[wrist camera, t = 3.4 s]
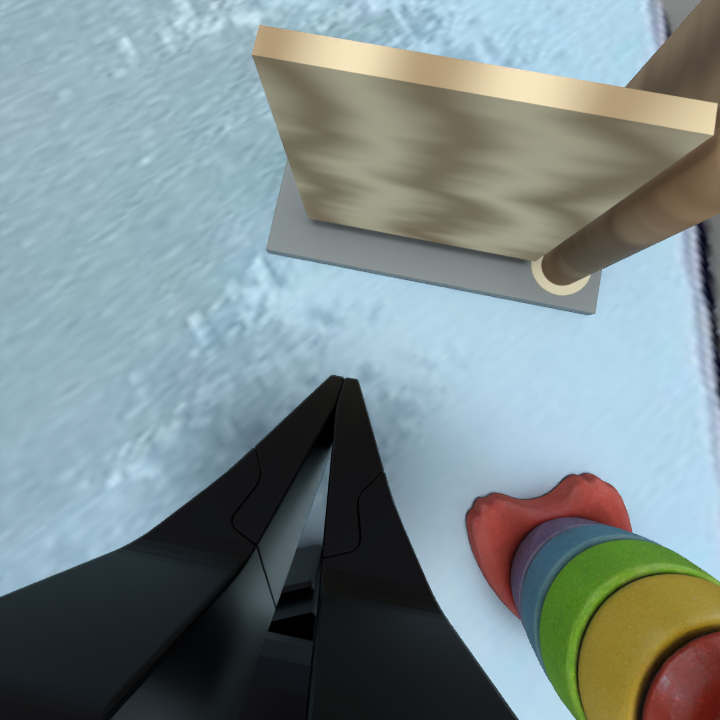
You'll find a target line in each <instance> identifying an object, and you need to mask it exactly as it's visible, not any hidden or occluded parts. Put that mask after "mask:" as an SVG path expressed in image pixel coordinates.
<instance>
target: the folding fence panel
mask: <svg viewBox="0 0 720 720" xmlns="http://www.w3.org/2000/svg"><path fill="white" fill-rule="evenodd" d="M252 56H253V59H254V62H255V65H256V68H257V71H258V74H259V77H260V79H261V82H262V85H263V88H264V91H265V94H266V97H267V100H268V103H269V106H270V109H271V111H272V114H273V117H274V120H275V123H276V126H277V129H278V132H279V135H280V138H281V141H282V143H283V146H284V149H285V152H286V155H287V158H288V161H289V164H290V167H291V170H292V173H293V175H294V178H295V181H296V184H297V187H298V190H299V193H300V196H301V199H302V202H303V205H304V207H305V210H306V213H307V216H308V218H310V219H315V220H320V221H326V222H331V223H336V224H341V225H347V226H352V227H357V228H362V229H368V230H373V231H378V232H383V233H389V234H394V235H399V236H404V237H410V238H415V239H420V240H425V241H431V242H436V243H441V244H446V245H452V246H457V247H462V248H468V249H473V250H478V251H483V252H489V253H494V254H499V255H504V256H510V257H515V258H520V259H525V260H531V261H537V260H538V259H539V258H541V257H542V256H544V255H545V254H546V253H548V252H549V251H551V250H552V249H554V248H555V247H556V246H558V245H559V244H561V243H562V242H563V241H565V240H566V239H568V238H569V237H570V236H572V235H573V234H575V233H576V232H578V231H579V230H580V229H582V228H583V227H585V226H586V225H587V224H589V223H590V222H592V221H593V220H595V219H596V218H597V217H599V216H600V215H602V214H603V213H604V212H606V211H607V210H609V209H610V208H611V207H613V206H614V205H616V204H617V203H619V202H620V201H621V200H623V199H624V198H626V197H627V196H628V195H630V194H631V193H633V192H634V191H636V190H637V189H638V188H640V187H641V186H643V185H644V184H645V183H647V182H648V181H650V180H651V179H652V178H654V177H655V176H657V175H658V174H660V173H661V172H662V171H664V170H665V169H667V168H668V167H669V166H671V165H672V164H674V163H675V162H676V161H678V160H679V159H681V158H682V157H684V156H685V155H686V154H688V153H689V152H691V151H692V150H693V149H695V148H696V147H698V146H699V145H701V144H702V143H703V142H705V141H706V140H708V139H709V138H710V137H712V136H713V135H714V128H715V120H716V113H717V105H718V103H712V102H706V101H700V100H695V99H689V98H683V97H677V96H671V95H665V94H660V93H654V92H648V91H642V90H636V89H630V88H625V87H619V86H613V85H607V84H601V83H595V82H590V81H584V80H578V79H572V78H566V77H560V76H554V75H549V74H543V73H537V72H531V71H525V70H519V69H514V68H508V67H502V66H496V65H490V64H484V63H479V62H473V61H467V60H461V59H455V58H449V57H444V56H438V55H432V54H426V53H420V52H414V51H409V50H403V49H397V48H391V47H385V46H379V45H373V44H368V43H362V42H356V41H350V40H344V39H338V38H333V37H327V36H321V35H315V34H309V33H303V32H298V31H292V30H286V29H280V28H274V27H268V26H263V25H259V29H258V33H257V37H256V41H255V45H254V49H253V53H252Z"/></svg>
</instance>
